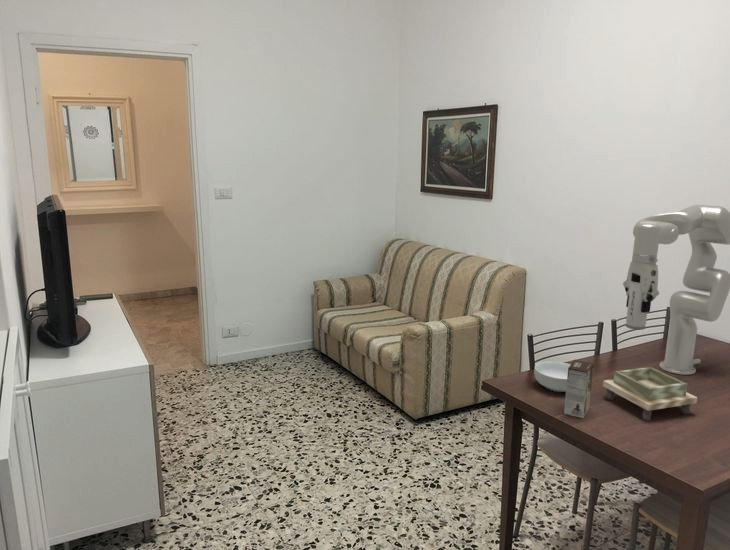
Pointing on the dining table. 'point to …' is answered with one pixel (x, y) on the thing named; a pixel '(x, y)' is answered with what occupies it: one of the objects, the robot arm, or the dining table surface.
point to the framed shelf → (650, 390)
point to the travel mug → (635, 306)
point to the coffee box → (578, 388)
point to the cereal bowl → (552, 375)
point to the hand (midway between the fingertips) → (637, 309)
